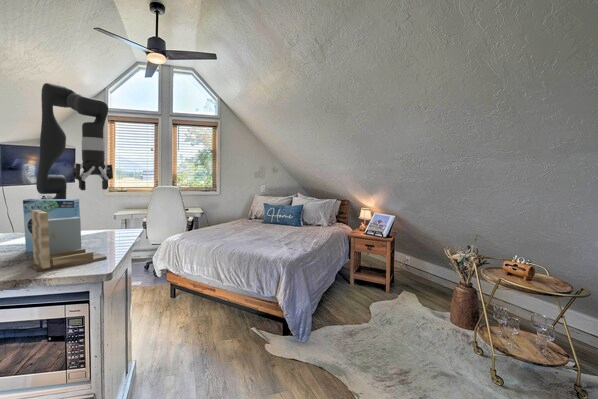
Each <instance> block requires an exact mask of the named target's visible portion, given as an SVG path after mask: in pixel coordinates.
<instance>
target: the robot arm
mask: <svg viewBox="0 0 598 399" xmlns="http://www.w3.org/2000/svg"><path fill="white" fill-rule="evenodd" d="M54 107H60V108H70V109H72V110H73V111H76V112H77V113H78V114H79V115H81V116H87V117H93V118H95V119H94V121H86V122H83V123H82V124H81V125H82V126H81V135H82V136H81V160H82V163H79V162H77V163H76V162H75V163H73V165H72V179H74V180H77V181H78V188H79V190H80V191H86V179H87V178H88V177H89V176H93V175H95V176H99V177H100V178H101V183H102V184H101V188H102V190H108V188H109V180H112V179H114V174H113V173H114V170H113V165H112V164H105V141H104V140H105V139H104V128H105V124H106V120H107V117H108V114H109V106H108V104H107V103H106V102H105V101H104V100H102V99H97V98H93V97H89V96H86V95H83V94H80V93H77V92H76V91H75V90H73V89H72V88H70V87H69V86H68V87H67V86H62V85H59V84H53V83H49V82H48V83H47V82H45V83H44V84H43V85H42V87H41V126H40V129H41V130H40V139H39V161H38V167H37V168H38V169H37V170H38V171H37V174H36V184H35V185H36V191H37V193H38V194H41V195H53V194H55V196H53V197H52V198H51V199H67V188H68V187H67V179H66V176H65V175H62V174H49V173H50V171H51V168H52V166H53V165H54V164H55V163H56V162H57V161H58V160H59V158H60V157H61V156H62V155H63V154H64V152H65V151H66V147H67V136H66V133H65V131H64V130H63V128H62V126H61V125H60V124H59V122H58V120H57V119H56V116H55V112H54ZM81 169H83V170H82V171H81ZM104 170H105V171H104Z"/></svg>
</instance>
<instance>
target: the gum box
mask: <svg viewBox="0 0 598 399" xmlns="http://www.w3.org/2000/svg"><path fill="white" fill-rule="evenodd" d="M22 206H23V207H22V209H23V224H24V226H23V227H24V240H25V252H26V253H30V252H31V253H33V238H32V215H31V210H41V211H44V212H47V213H48V219H56V218H68V217H79V218H80V219H81V214H80V213H81V212H80V210H81V209H80V199H79V198H78V199H74V198H73V199H69V198H66V199H52V198H51V199H49V198H48V199H47V198H27V199H23V200H22Z"/></svg>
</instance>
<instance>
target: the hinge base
mask: <svg viewBox="0 0 598 399" xmlns="http://www.w3.org/2000/svg"><path fill="white" fill-rule="evenodd" d="M31 215H32V238H33V252H32V253H33V254H32V256H33V257H32V258H33V262H29V263H28V266H29V267H30V268H32V269H33V270H35V271H36V272H37V273H41V272H42V273H43V272H48V271H52V270H57V269H61V268H68V267H72V266H76V265H83V264H88V263H93V262H97V261H104V260H108V259H107V258H108V257H107V256H106V255H104V254H103V253H99V252H96V251H88V252H87V251H86V248H81V249H78V250H72V251H65V252H59V253H53V254H50V252H49V228H48V213H47V212H44V211H41V210H31Z"/></svg>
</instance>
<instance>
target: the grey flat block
mask: <svg viewBox="0 0 598 399" xmlns="http://www.w3.org/2000/svg"><path fill="white" fill-rule="evenodd" d="M81 223H82V222H81V217H80V218H79V217H68V218H56V219H48V228H49V252H50V254H53V253H59V252H65V251H72V250H78V249H82V229H81Z"/></svg>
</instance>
